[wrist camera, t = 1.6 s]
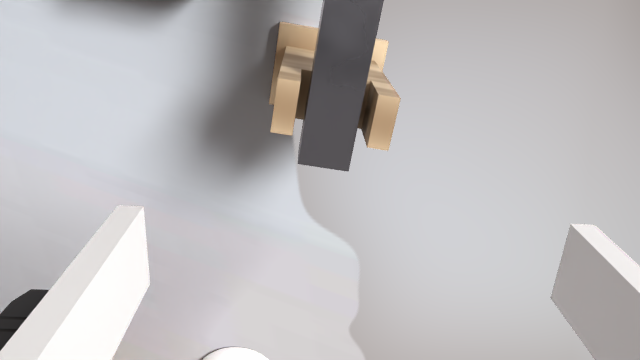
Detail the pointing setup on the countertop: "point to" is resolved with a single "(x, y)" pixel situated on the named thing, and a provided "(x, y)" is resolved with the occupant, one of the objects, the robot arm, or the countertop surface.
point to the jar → (235, 354)
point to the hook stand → (295, 79)
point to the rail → (338, 81)
